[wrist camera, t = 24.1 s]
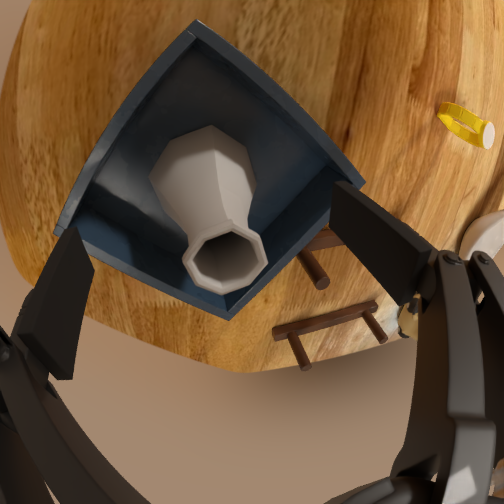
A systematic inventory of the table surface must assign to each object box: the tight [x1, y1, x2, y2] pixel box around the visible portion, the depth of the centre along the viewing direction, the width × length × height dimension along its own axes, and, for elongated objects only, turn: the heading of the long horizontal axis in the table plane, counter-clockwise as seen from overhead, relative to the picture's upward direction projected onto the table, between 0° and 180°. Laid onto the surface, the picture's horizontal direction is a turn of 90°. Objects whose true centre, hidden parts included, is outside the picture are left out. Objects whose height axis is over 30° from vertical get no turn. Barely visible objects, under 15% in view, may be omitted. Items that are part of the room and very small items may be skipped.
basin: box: [53, 19, 366, 321], centre depth 17 cm, size 15×15×5 cm
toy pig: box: [398, 294, 420, 341], centre depth 34 cm, size 10×12×11 cm
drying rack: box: [272, 218, 399, 371], centre depth 26 cm, size 14×13×6 cm
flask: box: [148, 125, 268, 295], centre depth 15 cm, size 7×7×10 cm
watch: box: [437, 102, 495, 150], centre depth 18 cm, size 6×3×6 cm, turn 67°
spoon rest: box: [459, 209, 504, 260], centre depth 27 cm, size 24×12×7 cm, turn 161°
